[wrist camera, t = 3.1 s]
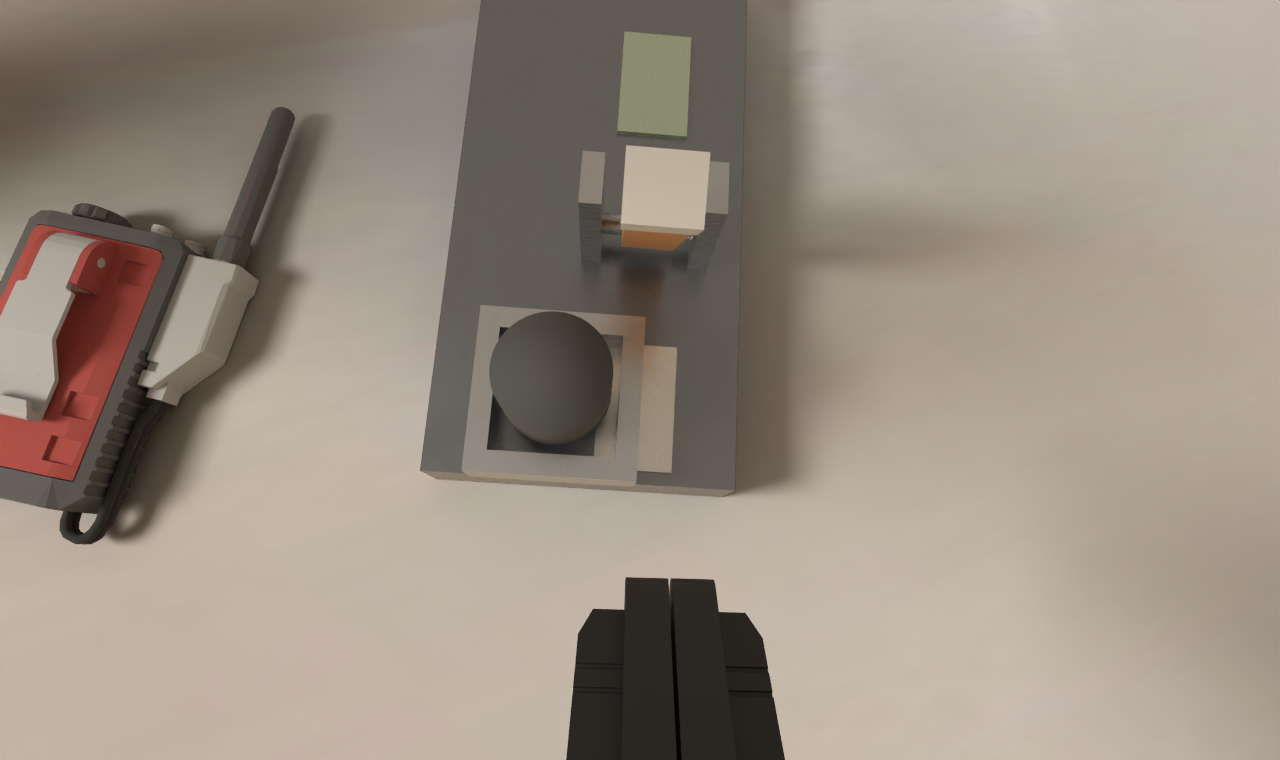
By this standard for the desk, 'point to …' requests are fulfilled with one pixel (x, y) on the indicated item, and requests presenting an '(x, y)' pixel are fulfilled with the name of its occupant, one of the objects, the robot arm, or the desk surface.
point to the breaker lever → (663, 196)
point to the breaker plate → (596, 240)
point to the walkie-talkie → (113, 341)
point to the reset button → (552, 377)
